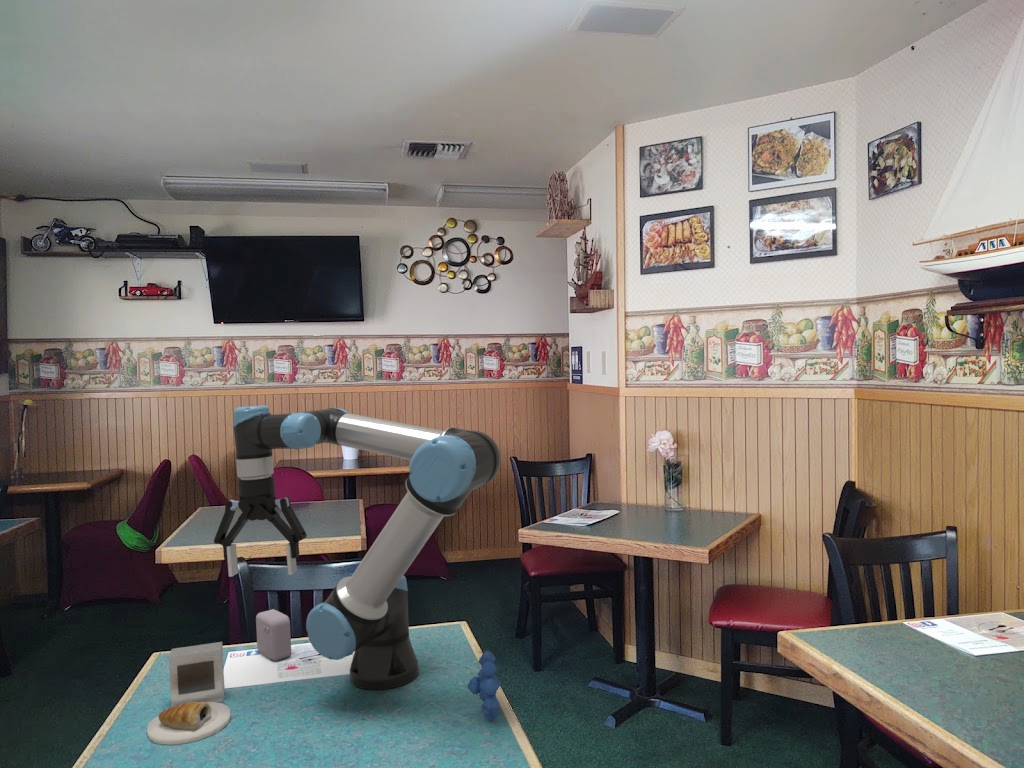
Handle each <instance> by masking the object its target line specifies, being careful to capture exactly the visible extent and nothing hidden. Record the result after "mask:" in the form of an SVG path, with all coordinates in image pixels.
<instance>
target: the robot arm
mask: <svg viewBox="0 0 1024 768" xmlns="http://www.w3.org/2000/svg"><path fill="white" fill-rule="evenodd" d="M232 428H233V434H234V445H235V458H236V459H235V461H236V462H235V463H236V475H237V476H236V477H238V478H240V479H238V481H237V489H238V490H237V492H238V496H239V500H236V499H235V498H234V499H233V498H232V499H230V500H227V501H225V505H224V506H225V507H224V513H223V516H222V518H221V521H220V524H219V525H218V528H217V531H216V534H215V536H214V539H213V543H214V544H218V545H221V546H222V550H223V558H224V559H223V560H224V561H227V570H228V577H234V576H235V575H237V574H239V566H238V565H239V564H238V551H237V543H234V541H235V539H236V538H237V536H238V535H239V534H240V533H241V531H242V529H243V528H244V526H245V525H246V524H247V522H248V521H251V522H252V521H256V520H258V521H264V520H267V521H268V522H269V523H271V524H272V525H273V526H274V527H275V528H276V530H278V532H280V534H281V535H282V536H283V537H284V538H285V539H286V540H287V541H288V542H289V543H287V544H286V545H285V548H286V561H287V562H286V563H287V574H288V575H289V576H290V575H291V576H292V575H294V574H295V573H296V572H297V571H298V570H297V569H298V568H297V558H298V557H299V556H300V542H301V541H303V540H305V539H306V538H307V536H308V534H307V533H306V530H305V529H304V527H303V526H302V525H303V524H302V523H301V521H300V520H299V518H298V516H297V515H296V513H295V511H294V509H293V507H292V504H291V503H292V502H291V499H290V497H289V496H285V497H283V498H278V499H277V498H276V486H275V485H276V483H275V477H274V476H273V474H274V461H273V459H274V458H273V450H292V449H293V450H298V451H299V450H301V449H302V450H303V449H310V448H312V447H314V446H315V445H321V444H331V445H336V446H341V447H347V448H351V449H356V450H360V451H365V452H371V453H375V454H378V455H379V454H380V455H383V456H389V457H394V458H398V459H404V460H407V461H410V462H409V466H408V471H409V475H408V477H407V478H406V479H405V488H406V494H405V495H404V497H403V498H402V500H401V501H400V503H399V504H398V505H397V507H396V509H395V510H394V512H393V513H392V515H391V516H390V518H389V519H388V521H387V522H386V524H385V525H384V527H383V528H382V530H381V532H379V534H378V535H377V537H376V539H375V540H374V542H373V544H372V545H371V546H370V548H369V549H368V551H367V552H366V554H365V555H364V557H363V558H362V560H361V562H359V564H358V566H357V567H356V568H355V571H353V573H352V575H350V576H344V577H343V578H341V579H340V580H339V581H338V582H337V584H336V585H335V587H334V588H333V590H332V591H331V593H330V595H329V596H328V597H327V598H326V599H325V600H324V602H320V603H318V604H316V605H315V606H314V607H313V608H312V609H311V610H310V611H309V613H308V614H307V617H306V623H305V628H306V632H307V637H308V640H309V642H310V644H311V646H312V647H313V649H314V650H315V651H316V652H317V653H318V654H319V655H320V656H322V657H323V658H326V659H327V660H330V661H332V660H334V661H338V660H343V659H344V658H346V657H349V656H352V655H353V656H352V661H351V664H350V667H349V680H350V683H351V684H352V685H354V686H355V687H357V688H360V689H365V690H387V689H392V688H397V687H401V686H403V685H405V684H408V683H411V681H413V680H415V679H416V678H417V676H418V675H419V661H418V658H417V655H416V652H415V650H414V648H413V644H412V642H411V639H410V630H409V629H410V627H409V625H410V623H409V598H408V597H409V594H408V593H409V589H408V583H407V577H406V576H405V573H406V572H407V571H408V569H409V568H410V566H411V565H412V563H413V562H414V561H415V559H416V557H417V556H418V555H419V554H420V552H421V551H422V549H423V548H424V546H425V544H426V543H427V541H428V540H429V539H430V537H431V536H432V534H434V532H435V530H436V529H437V527H439V524H440V523H441V522H442V520H443V519H444V517H451V516H454V515H455V514H457V512H458V510H459V509H460V508H461V507H462V505H463V503H464V502H465V500H466V499H467V498H468V497H469V495H470V494H471V492H473V491H474V490H476V489H479V488H481V487H484V486H486V485H487V484H489V483H490V482H492V480H494V478H495V477H496V476H497V475H498V472H499V470H500V467H501V462H502V461H501V458H502V457H501V452H500V449H499V447H498V444H497V443H496V442H495V440H494V439H493V438H492V437H491V436H490V435H488V434H487V433H485V432H482V431H479V430H474V429H473V430H472V429H463V428H458V427H457V428H456V427H448V428H446V429H445V430H441V429H436V428H430V427H424V426H420V425H413V424H409V423H404V422H403V423H402V422H400V421H399V422H398V421H393V420H389V419H382V418H376V417H372V416H371V417H370V416H366V415H361V414H356V413H355V414H354V413H351V412H349V411H347V409H344V408H338V407H337V408H336V407H335V408H334V407H329V408H325V409H317V410H310V411H309V410H308V411H307V410H306V411H300V412H291V413H290V412H289V413H278V414H276V413H275V414H271V411H270V407H269V406H268V405H253V406H252V405H251V406H239V407H237V408H235V409H234V411H233V426H232ZM277 506H278V508H279V509H280V510H281V512H282V514H283V516H284V517H285V519H286V521H287V523H288V524H289V525H288V524H287V523H286V521H285V520H284V519H283V518H282V517H281V515H280V513H279V512H278V511H277V510H276V507H277ZM238 509H239V510H240V512H241V514H240V515H239V516H238V518H237V520H236V522H235V523H234V525H233V526H232V527H231V529H230V526H231V524H232V521H233V519H234V516H235V514H236V511H237V510H238ZM229 529H230V530H229Z"/></svg>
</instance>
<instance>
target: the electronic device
mask: <svg viewBox="0 0 1024 768" xmlns="http://www.w3.org/2000/svg"><path fill="white" fill-rule="evenodd" d="M255 624H256V625H255V627H256V646H257V647H256V648H257V651H258V653H260V654H262V655H263V656H265V657H266V658H268V659H270V660H271V661H275V662H276V661H281V660H283V659H286V658H290V657H291V656H292V641H291V640H292V638H291V636H292V635H291V620H290V618H289V616H288V615H287V614H284V613H283V612H280V611H278V610H276V609H275V608H272V609H270V610H265V611H260V612H258V613H257V614H256V617H255Z"/></svg>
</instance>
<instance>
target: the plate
mask: <svg viewBox="0 0 1024 768" xmlns="http://www.w3.org/2000/svg"><path fill="white" fill-rule="evenodd" d="M199 703H204V702H199ZM207 703H208V704H209V705H210V707H211V711H212V712H211V716H210V717H209V718H208V719H206V720H205V722H204V723H203V724H202V725H201V726H200V727H199V728H198V729H194V730H185V729H182V730H179V729H173V728H170V727H166V726H164V725H163V724H161V722H160V721H159V714H158V715H157V716H155V717H154V718H152V720H150V722H149V723H148V724H147V733H146V734H147V738H148V740H150V741H151V742H152V743H155V744H159V745H163V746H164V745H166V746H167V745H169V746H175V745H183V744H184V745H185V744H189V743H193V742H197V741H200V740H203V739H206V738H209V737H211V736H213V735H215V734H217V733H219V732H220V731H221V730H223V729H224V728H226V727H227V726H228V724H229V723H230V721H231V709H230V707H229V706H228V705H226V704H224V703H222V702H218V703H217V702H207Z"/></svg>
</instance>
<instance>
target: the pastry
mask: <svg viewBox="0 0 1024 768" xmlns="http://www.w3.org/2000/svg"><path fill="white" fill-rule="evenodd" d="M211 712H212V711H211V707H210V705H209V704H208V703H207V702H204V703H199V702H188V703H186V704H180V705H176V706H175V707H171V706H170V707H169V708H167V709H164V710H163V711H161V712H160V713H159V714H158V715H159V721H160V722H161V724H163V725H164V726H166V727H170V728H173V729H179V730H182V729H185V730H194V729H198V728H199V727H200V726H201V725H202V724H203V723H204V722H205V720H206V719H208V718H209V717H210V716H211Z"/></svg>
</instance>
